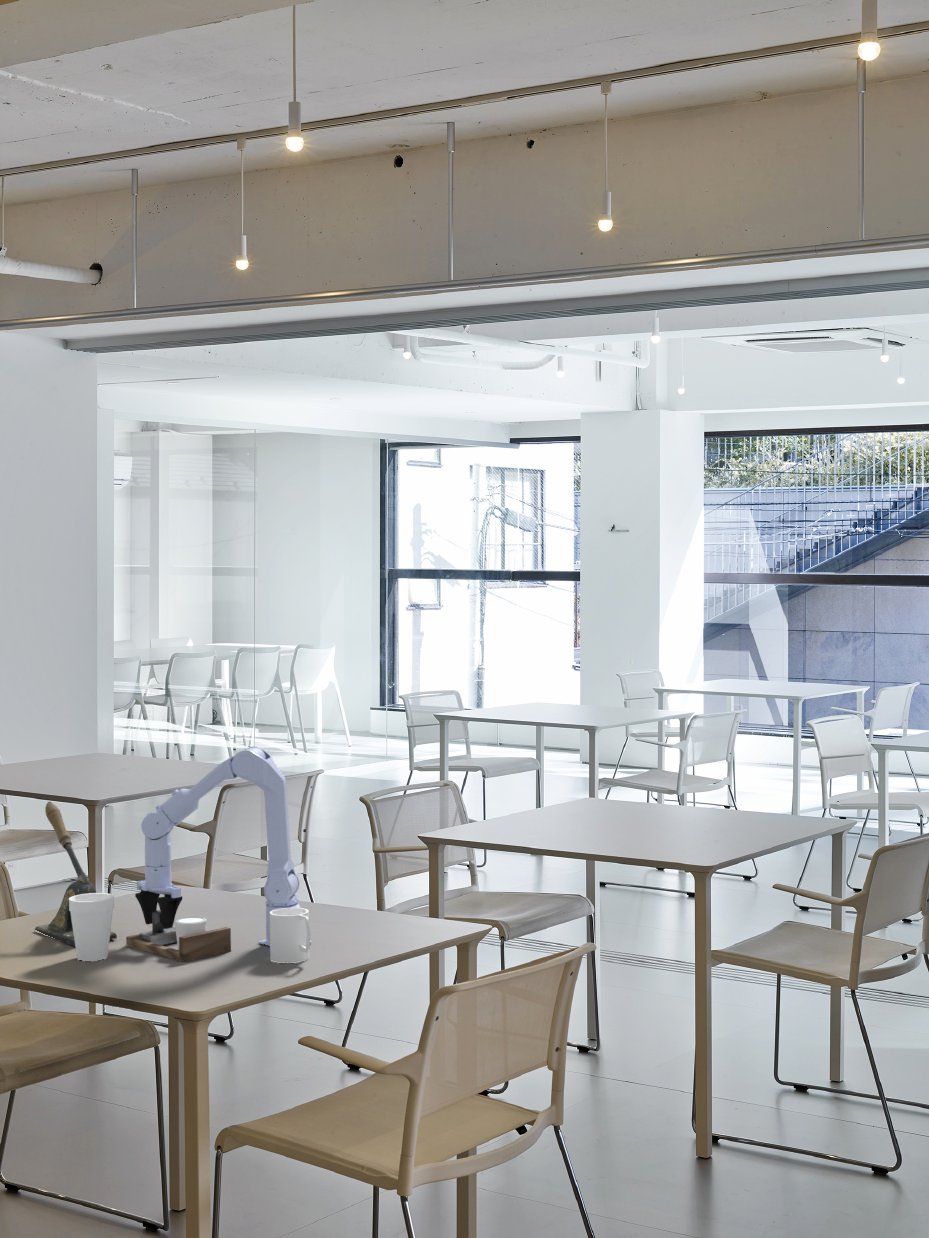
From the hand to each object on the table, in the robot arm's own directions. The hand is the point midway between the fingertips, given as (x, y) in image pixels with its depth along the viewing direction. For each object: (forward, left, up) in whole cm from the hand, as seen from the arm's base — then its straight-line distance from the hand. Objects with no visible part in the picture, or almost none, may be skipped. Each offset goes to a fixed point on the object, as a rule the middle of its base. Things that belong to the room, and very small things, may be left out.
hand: (159, 925), depth 313 cm
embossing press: (+22, +8, -4) cm, 24 cm away
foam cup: (0, +17, -4) cm, 17 cm away
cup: (-35, -10, -4) cm, 37 cm away
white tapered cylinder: (-12, 0, -4) cm, 13 cm away
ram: (-1, 0, -4) cm, 4 cm away
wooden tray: (-7, 0, -4) cm, 8 cm away
